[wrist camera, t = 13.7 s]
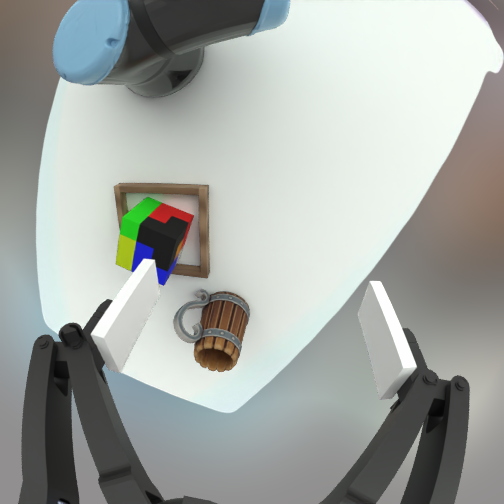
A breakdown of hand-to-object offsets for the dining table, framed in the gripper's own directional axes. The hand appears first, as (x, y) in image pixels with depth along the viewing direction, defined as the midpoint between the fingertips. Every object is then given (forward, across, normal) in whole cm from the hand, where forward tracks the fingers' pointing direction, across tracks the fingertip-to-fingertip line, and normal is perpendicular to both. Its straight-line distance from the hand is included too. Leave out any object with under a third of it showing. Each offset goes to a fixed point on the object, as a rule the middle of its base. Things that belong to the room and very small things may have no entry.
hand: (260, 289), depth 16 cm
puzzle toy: (+33, -20, -13) cm, 41 cm away
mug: (+33, -9, -30) cm, 45 cm away
